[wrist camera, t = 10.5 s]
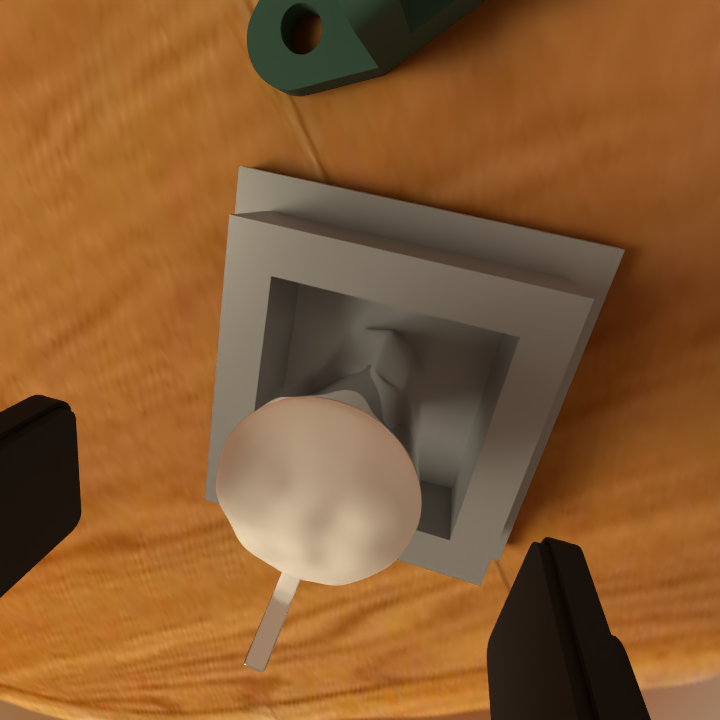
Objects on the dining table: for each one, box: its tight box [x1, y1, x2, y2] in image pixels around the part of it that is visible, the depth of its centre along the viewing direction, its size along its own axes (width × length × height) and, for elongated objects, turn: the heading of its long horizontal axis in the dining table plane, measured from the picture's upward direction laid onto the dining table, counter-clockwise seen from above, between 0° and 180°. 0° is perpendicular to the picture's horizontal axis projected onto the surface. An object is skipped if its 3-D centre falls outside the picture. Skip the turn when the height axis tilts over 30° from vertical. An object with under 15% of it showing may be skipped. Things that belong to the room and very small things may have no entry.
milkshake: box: [216, 329, 422, 672], centre depth 13 cm, size 4×5×10 cm
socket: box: [205, 166, 625, 586], centre depth 17 cm, size 13×13×4 cm
